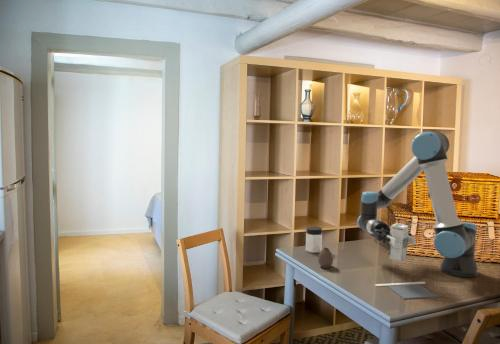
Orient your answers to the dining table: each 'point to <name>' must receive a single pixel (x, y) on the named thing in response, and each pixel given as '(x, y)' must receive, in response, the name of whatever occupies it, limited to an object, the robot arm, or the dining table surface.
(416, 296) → the mat
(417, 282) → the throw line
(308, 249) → the jar
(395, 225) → the syrup box
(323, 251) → the vase
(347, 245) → the dining table surface
